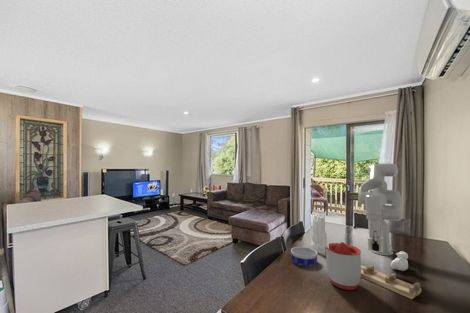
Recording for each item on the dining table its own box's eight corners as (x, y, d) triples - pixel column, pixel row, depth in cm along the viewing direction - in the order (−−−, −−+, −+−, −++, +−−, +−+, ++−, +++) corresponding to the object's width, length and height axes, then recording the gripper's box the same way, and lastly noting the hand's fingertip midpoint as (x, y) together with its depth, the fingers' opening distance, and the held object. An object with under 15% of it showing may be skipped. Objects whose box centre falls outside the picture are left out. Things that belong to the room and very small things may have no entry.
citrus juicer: (327, 271, 114) (326, 234, 116) (364, 282, 103) (363, 241, 105) (318, 283, 102) (317, 242, 103) (359, 297, 91) (357, 250, 92)
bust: (394, 275, 114) (408, 264, 109) (382, 262, 120) (395, 251, 114) (407, 271, 119) (421, 260, 114) (395, 258, 125) (407, 247, 119)
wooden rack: (355, 266, 121) (355, 258, 121) (421, 292, 95) (421, 282, 95) (345, 270, 116) (344, 262, 116) (411, 299, 90) (411, 288, 90)
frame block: (367, 247, 122) (367, 236, 122) (382, 250, 118) (382, 238, 118) (368, 250, 119) (367, 238, 119) (383, 252, 115) (382, 240, 115)
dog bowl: (294, 254, 138) (294, 244, 139) (319, 259, 131) (319, 249, 131) (288, 263, 125) (287, 252, 126) (314, 269, 118) (314, 258, 118)
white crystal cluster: (325, 255, 137) (324, 216, 138) (309, 251, 143) (308, 214, 145) (329, 249, 145) (328, 213, 147) (313, 246, 152) (313, 211, 153)
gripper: (365, 212, 128) (366, 243, 128) (366, 219, 114) (368, 253, 113) (380, 213, 124) (381, 245, 124) (383, 221, 110) (385, 256, 109)
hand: (375, 248), depth 119 cm, fingers closed on frame block, 3 cm apart
